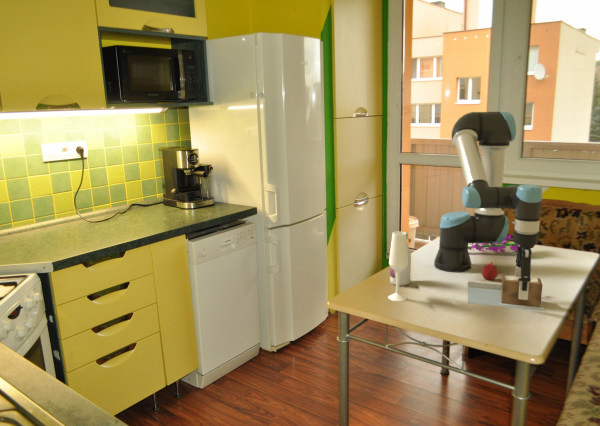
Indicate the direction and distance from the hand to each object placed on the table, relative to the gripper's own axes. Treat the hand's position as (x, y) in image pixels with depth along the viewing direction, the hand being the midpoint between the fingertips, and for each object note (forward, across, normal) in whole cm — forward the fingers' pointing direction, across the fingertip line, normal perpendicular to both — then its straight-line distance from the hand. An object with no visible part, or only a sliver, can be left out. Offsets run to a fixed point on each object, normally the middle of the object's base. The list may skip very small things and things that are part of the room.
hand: (520, 291), depth 169 cm
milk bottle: (+5, -11, -42) cm, 44 cm away
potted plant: (+6, -61, -5) cm, 61 cm away
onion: (+5, -22, -9) cm, 24 cm away
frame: (+4, 0, 0) cm, 4 cm away
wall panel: (+5, -3, -5) cm, 8 cm away
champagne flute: (+5, +5, -41) cm, 42 cm away
